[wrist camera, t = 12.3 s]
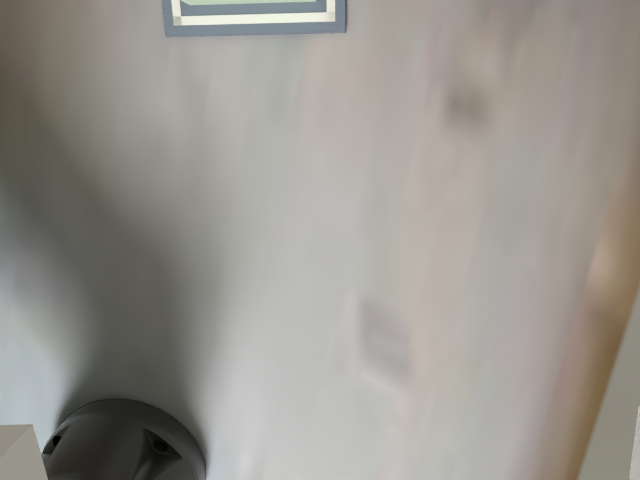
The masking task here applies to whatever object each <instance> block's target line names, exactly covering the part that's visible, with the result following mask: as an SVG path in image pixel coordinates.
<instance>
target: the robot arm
mask: <svg viewBox="0 0 640 480" xmlns="http://www.w3.org/2000/svg"><path fill="white" fill-rule="evenodd" d="M0 480H205V464H204V460H203V457H202V454H201V451H200V449H199V447H198V445H197V443H196V442H195V440H194V439H193V437H192V436H191V435H190V434H189V432H188V431H187V430H186V429H185V428H184V427H183V426H182V425H181V424H180V423H179V422H177V421H176V420H175V419H174V418H172V417H171V416H169V415H168V414H166V413H165V412H163V411H161V410H159V409H157V408H155V407H152V406H150V405H147V404H144V403H140V402H137V401H131V400H124V399H108V400H101V401H96V402H93V403H90V404H87V405H85V406H83V407H81V408H79V409H77V410H76V411H74V412H73V413H72V414H71V415H69V416H68V417H67V418H66V419H65V421H64V422H63V423H62V424H61V425H60V426H59V427H58V428H57V430H56V431H55V432H54V433H53V434H52V436H51V437H50V439H49V440H48V442H47V444H46V445H45V447H44V450H43V452H42V455H41V453H40V449H39V446H38V442H37V438H36V435H35V431H34V428H33V424H29V425H0ZM629 480H640V406H639V408H638V416H637V424H636V431H635V439H634V446H633V454H632V462H631V469H630V477H629Z"/></svg>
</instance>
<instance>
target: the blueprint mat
mask: <svg viewBox="0 0 640 480" xmlns="http://www.w3.org/2000/svg"><path fill="white" fill-rule="evenodd" d="M162 7H163V17H164V26H165V36H166V37H189V36H231V35H272V34H313V33H345V0H317V2H286V3H251V4H217V5H189V4H187V3H185V2H183V1H181V0H162Z"/></svg>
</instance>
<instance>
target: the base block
mask: <svg viewBox="0 0 640 480" xmlns="http://www.w3.org/2000/svg"><path fill="white" fill-rule="evenodd" d="M181 1H183V2H185V3H187V4H189V5H217V4H251V3H286V2H317V0H181Z"/></svg>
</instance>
